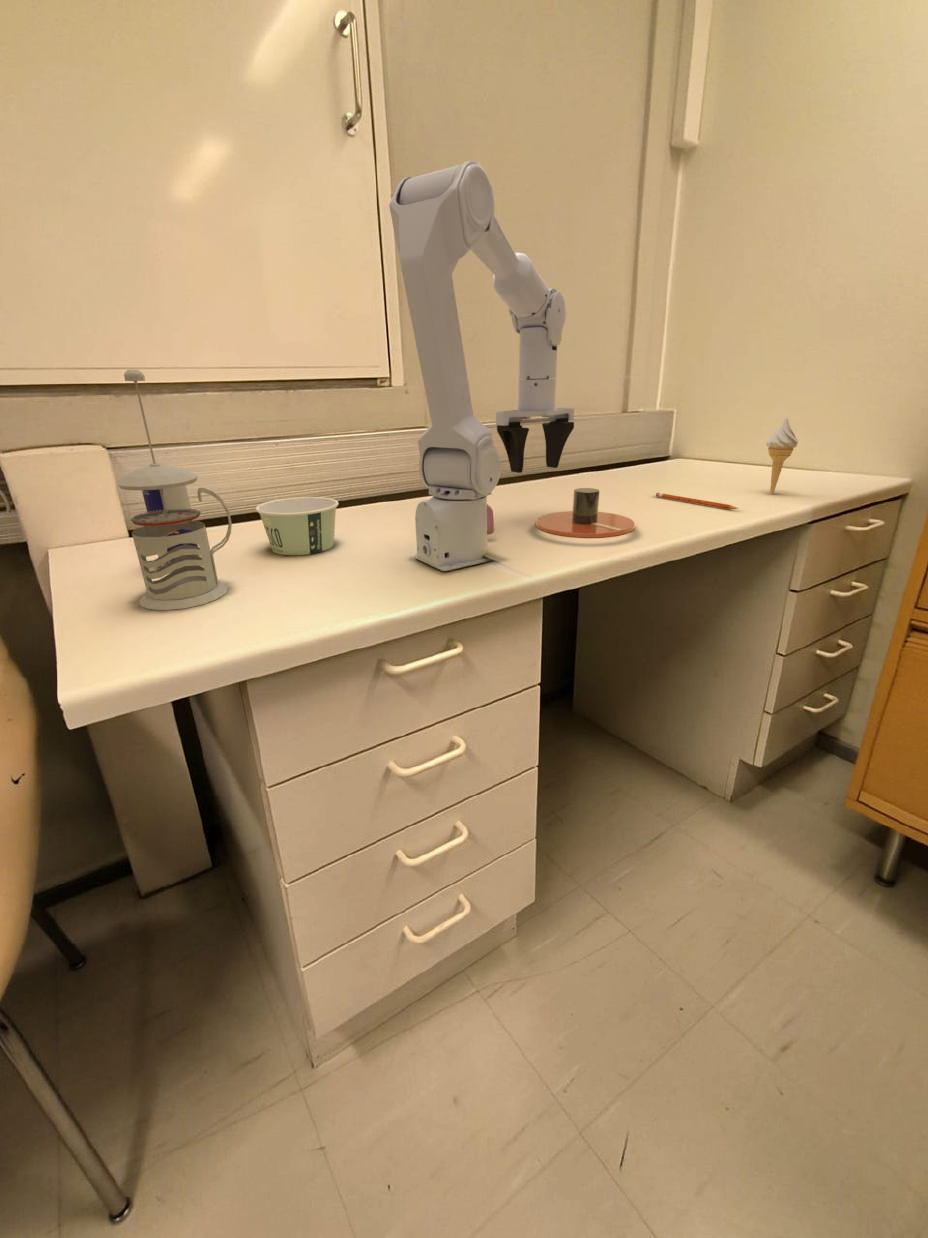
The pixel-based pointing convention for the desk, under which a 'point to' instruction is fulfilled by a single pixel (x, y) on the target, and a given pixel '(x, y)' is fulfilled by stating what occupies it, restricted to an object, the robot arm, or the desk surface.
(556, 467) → the robot arm
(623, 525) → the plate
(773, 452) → the ice cream cone
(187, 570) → the french press
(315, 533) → the food container
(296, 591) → the desk surface
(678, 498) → the pencil
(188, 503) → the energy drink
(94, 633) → the desk surface
